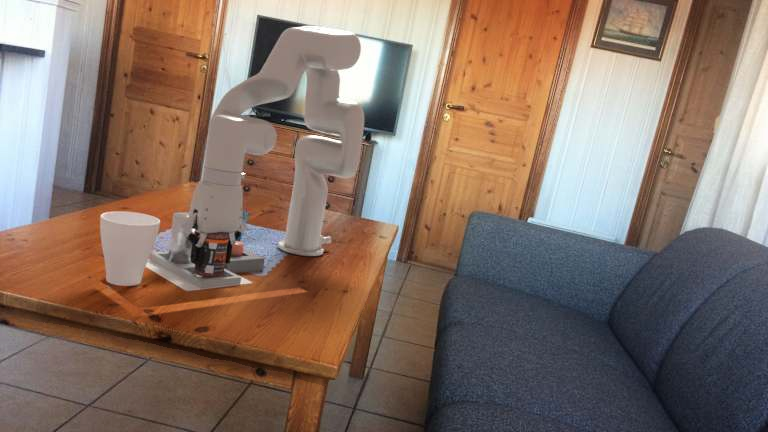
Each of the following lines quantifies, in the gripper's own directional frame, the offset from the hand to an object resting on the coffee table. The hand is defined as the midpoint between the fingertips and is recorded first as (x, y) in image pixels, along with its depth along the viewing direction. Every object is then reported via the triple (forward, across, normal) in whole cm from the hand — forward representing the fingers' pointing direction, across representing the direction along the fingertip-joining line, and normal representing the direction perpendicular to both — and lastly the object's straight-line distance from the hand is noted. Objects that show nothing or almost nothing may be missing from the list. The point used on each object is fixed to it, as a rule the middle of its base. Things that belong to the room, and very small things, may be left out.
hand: (210, 262), depth 128 cm
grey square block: (+5, -11, -7) cm, 14 cm away
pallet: (+5, 0, -5) cm, 7 cm away
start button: (+1, -11, -7) cm, 13 cm away
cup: (+5, +16, -4) cm, 17 cm away
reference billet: (+4, 0, -10) cm, 11 cm away
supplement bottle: (+3, 0, 0) cm, 3 cm away
